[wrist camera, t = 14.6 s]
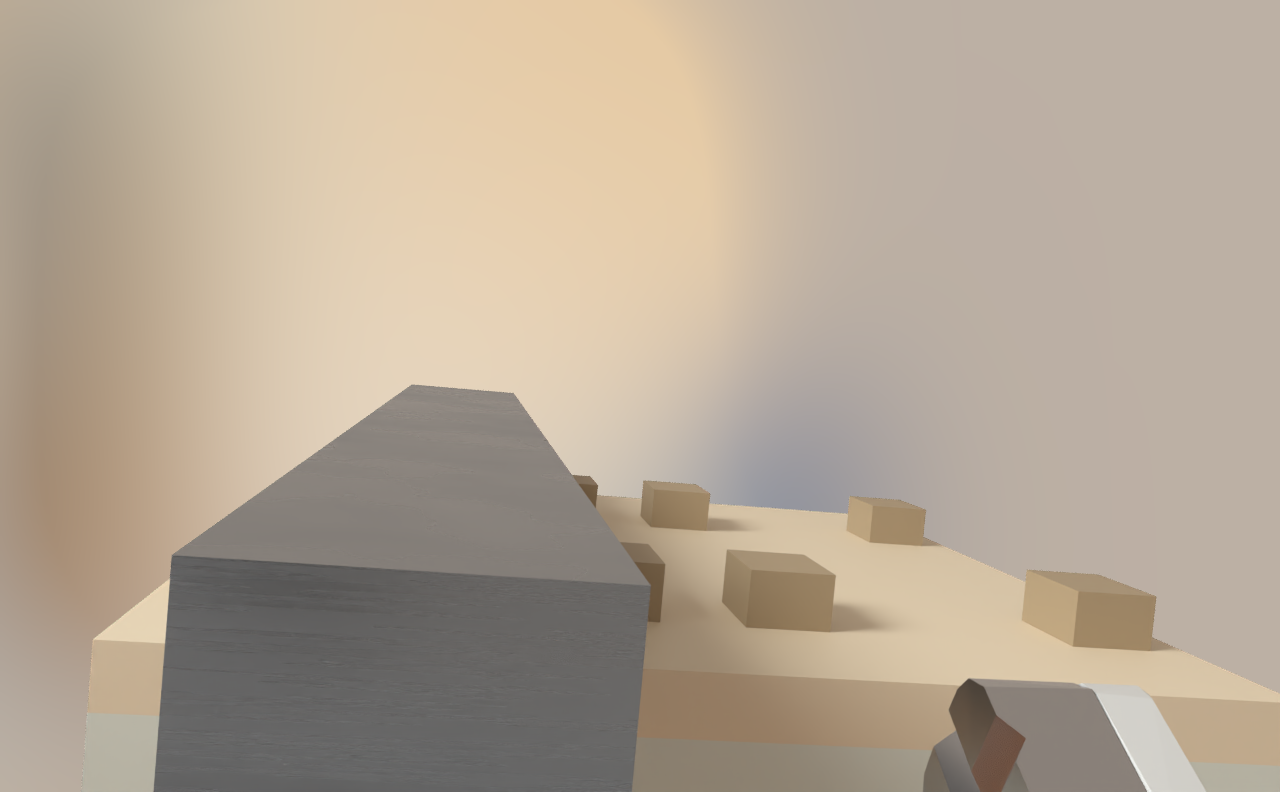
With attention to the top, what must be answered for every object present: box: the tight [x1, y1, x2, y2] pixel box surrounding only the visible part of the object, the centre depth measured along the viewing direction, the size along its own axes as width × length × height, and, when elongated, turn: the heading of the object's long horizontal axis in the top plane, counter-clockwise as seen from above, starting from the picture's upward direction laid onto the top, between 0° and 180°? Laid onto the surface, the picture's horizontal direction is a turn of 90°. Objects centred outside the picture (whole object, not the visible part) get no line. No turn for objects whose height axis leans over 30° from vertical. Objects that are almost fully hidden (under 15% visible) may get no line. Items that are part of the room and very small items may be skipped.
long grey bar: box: [153, 385, 651, 792], centre depth 21 cm, size 28×3×3 cm, turn 8°
